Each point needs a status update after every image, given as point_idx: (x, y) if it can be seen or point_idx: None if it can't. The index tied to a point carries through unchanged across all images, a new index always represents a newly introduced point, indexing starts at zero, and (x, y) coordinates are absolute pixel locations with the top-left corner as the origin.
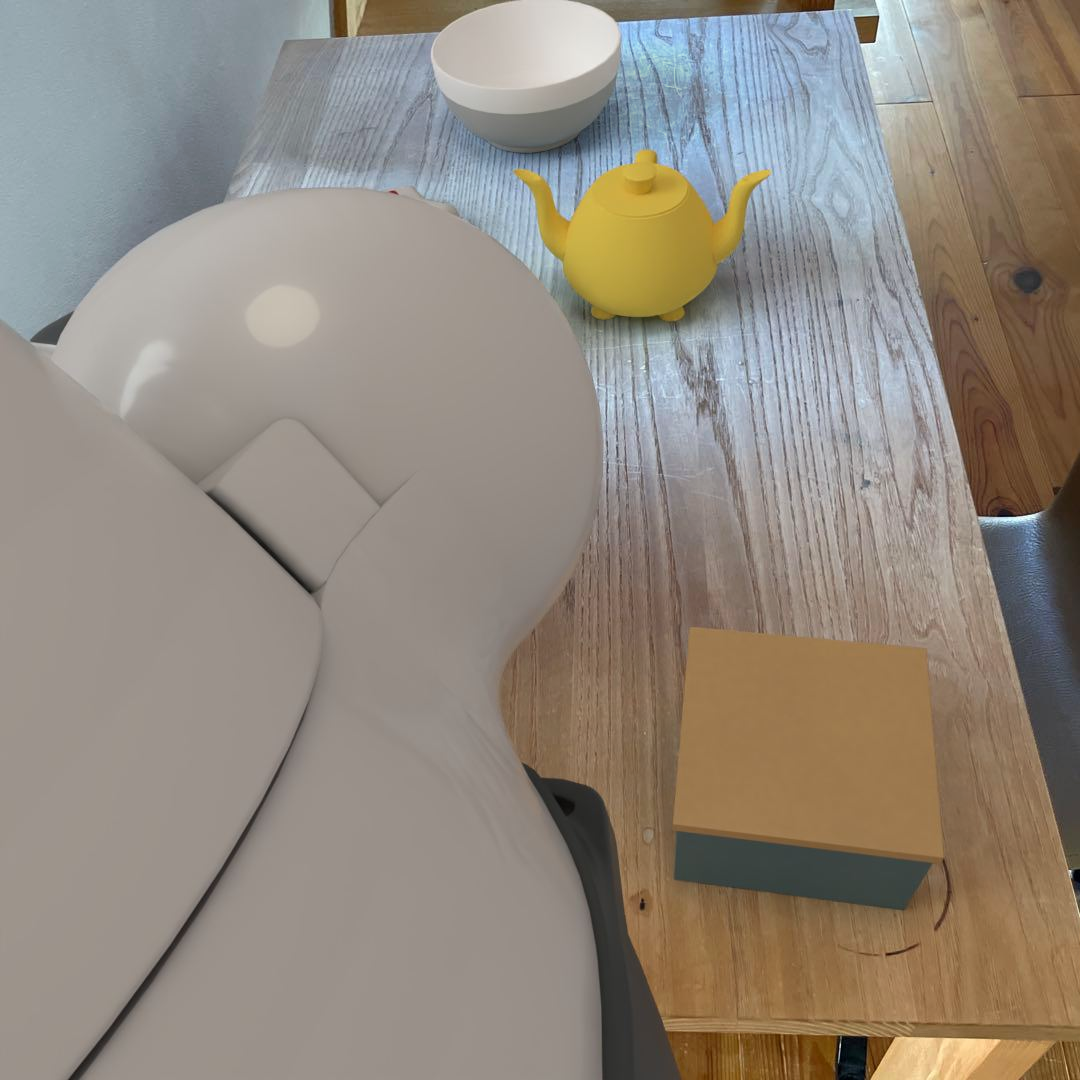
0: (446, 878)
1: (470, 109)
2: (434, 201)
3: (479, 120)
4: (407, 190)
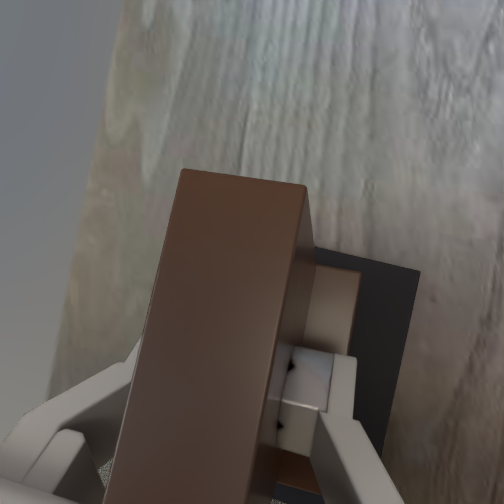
0: None
1: None
2: None
3: None
4: None
